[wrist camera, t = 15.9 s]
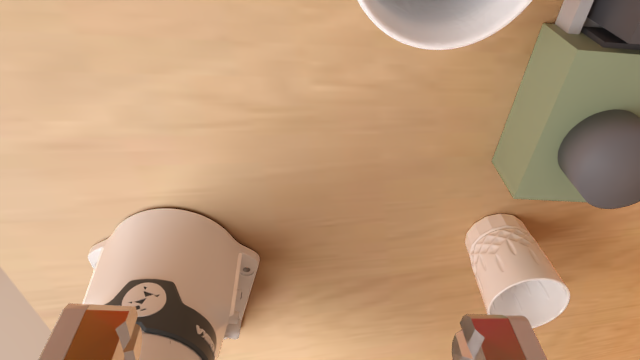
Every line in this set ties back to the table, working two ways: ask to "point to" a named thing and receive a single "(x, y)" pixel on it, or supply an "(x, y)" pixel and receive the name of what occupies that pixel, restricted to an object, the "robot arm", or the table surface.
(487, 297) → the white cup
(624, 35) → the tall grey rectangular block
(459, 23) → the mug
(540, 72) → the green box with dome
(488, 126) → the table surface
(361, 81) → the table surface
